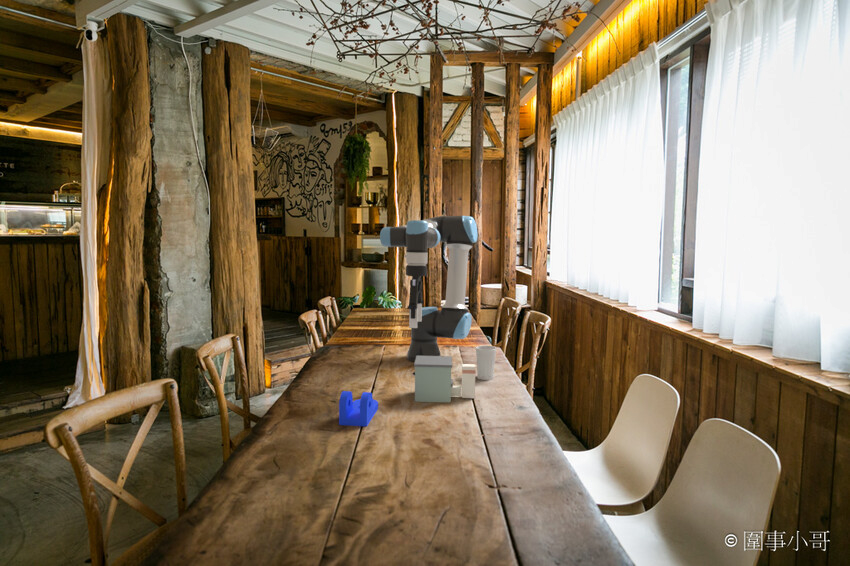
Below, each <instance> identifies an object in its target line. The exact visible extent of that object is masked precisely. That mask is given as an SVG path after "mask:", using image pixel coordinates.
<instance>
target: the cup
mask: <svg viewBox="0 0 850 566" xmlns="http://www.w3.org/2000/svg"><path fill="white" fill-rule="evenodd" d="M475 353H476V355H475V356H476V371H477V372H476V373H477V376H476V377H477V378H476V379H479V380H483V381H490V380H491V381H492V380H493V379H494V375H495V365H496V356H497V355H496V354H497V347H496V346H495V345H494V346H493V345H477V346H476V347H475Z"/></svg>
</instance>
